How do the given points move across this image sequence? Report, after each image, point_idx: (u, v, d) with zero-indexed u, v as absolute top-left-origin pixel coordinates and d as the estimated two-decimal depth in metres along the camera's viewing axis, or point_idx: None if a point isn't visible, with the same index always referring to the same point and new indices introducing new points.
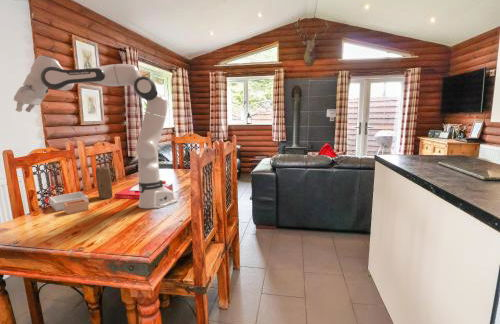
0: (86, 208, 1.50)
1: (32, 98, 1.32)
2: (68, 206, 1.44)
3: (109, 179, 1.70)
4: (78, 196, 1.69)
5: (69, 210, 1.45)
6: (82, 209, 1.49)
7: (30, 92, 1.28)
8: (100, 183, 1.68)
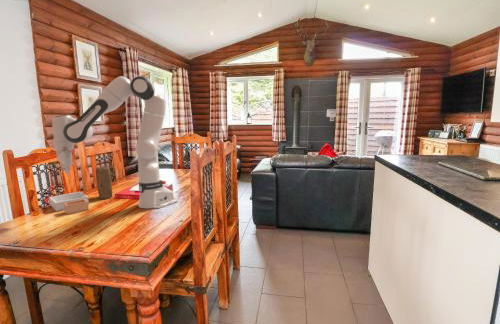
0: (86, 208, 1.50)
1: None
2: (68, 206, 1.44)
3: (109, 179, 1.70)
4: (78, 196, 1.69)
5: (69, 210, 1.45)
6: (82, 209, 1.49)
7: None
8: (100, 183, 1.68)
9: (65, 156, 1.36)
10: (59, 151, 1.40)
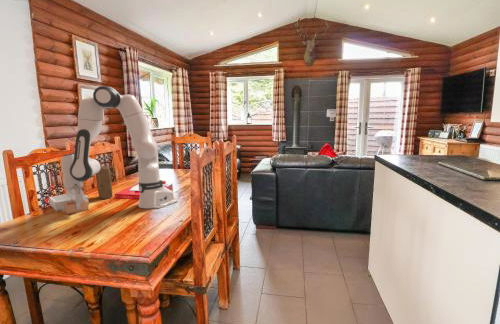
0: (86, 208, 1.50)
1: None
2: (68, 206, 1.44)
3: (109, 179, 1.70)
4: None
5: (69, 210, 1.45)
6: (82, 209, 1.49)
7: None
8: (100, 183, 1.68)
9: (77, 194, 1.41)
10: (69, 188, 1.45)
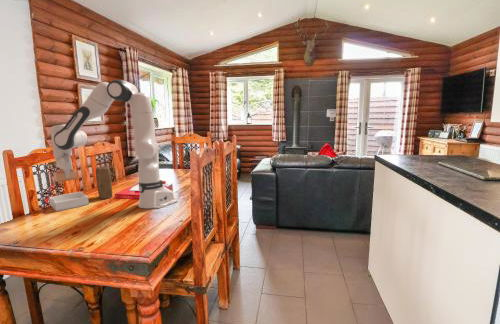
0: (75, 177, 1.58)
1: None
2: (57, 174, 1.52)
3: (109, 179, 1.70)
4: (78, 196, 1.69)
5: (58, 178, 1.52)
6: (71, 178, 1.57)
7: None
8: (100, 183, 1.68)
9: (65, 162, 1.48)
10: (59, 157, 1.52)
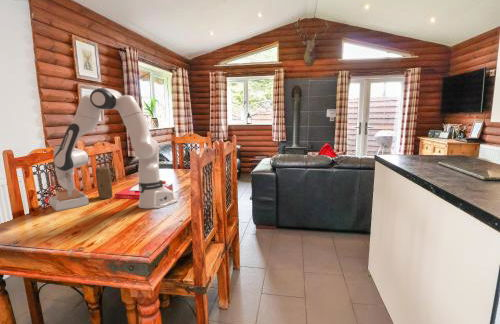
0: (77, 196, 1.60)
1: None
2: (60, 193, 1.54)
3: (109, 179, 1.70)
4: None
5: (61, 197, 1.54)
6: (73, 197, 1.59)
7: None
8: (100, 183, 1.68)
9: (68, 181, 1.50)
10: (61, 177, 1.54)
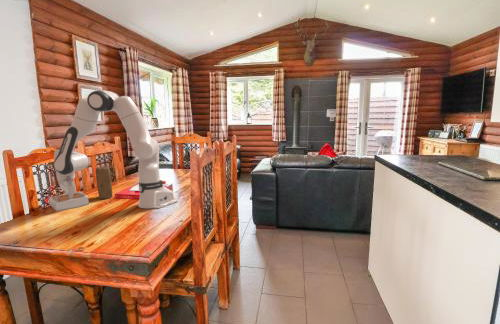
0: None
1: None
2: (61, 199, 1.54)
3: (109, 179, 1.70)
4: None
5: None
6: None
7: None
8: (100, 183, 1.68)
9: (69, 185, 1.50)
10: (62, 180, 1.54)
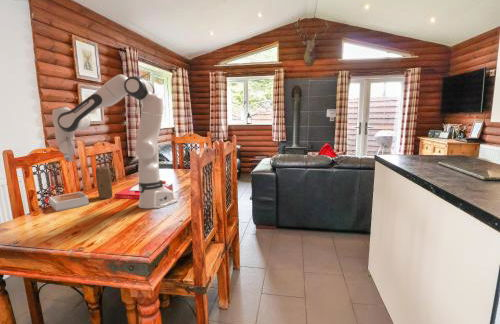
0: None
1: None
2: (61, 199, 1.54)
3: (109, 179, 1.70)
4: None
5: None
6: None
7: None
8: (100, 183, 1.68)
9: (68, 145, 1.46)
10: (61, 141, 1.50)
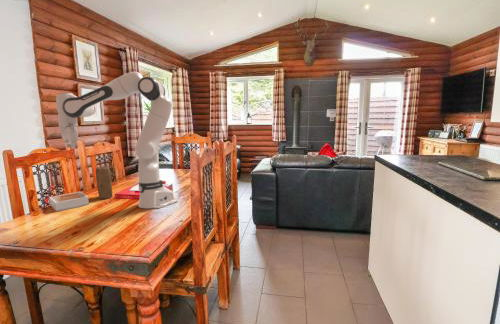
0: None
1: None
2: (61, 199, 1.54)
3: (109, 179, 1.70)
4: None
5: None
6: None
7: None
8: (100, 183, 1.68)
9: (71, 131, 1.43)
10: (64, 127, 1.47)
